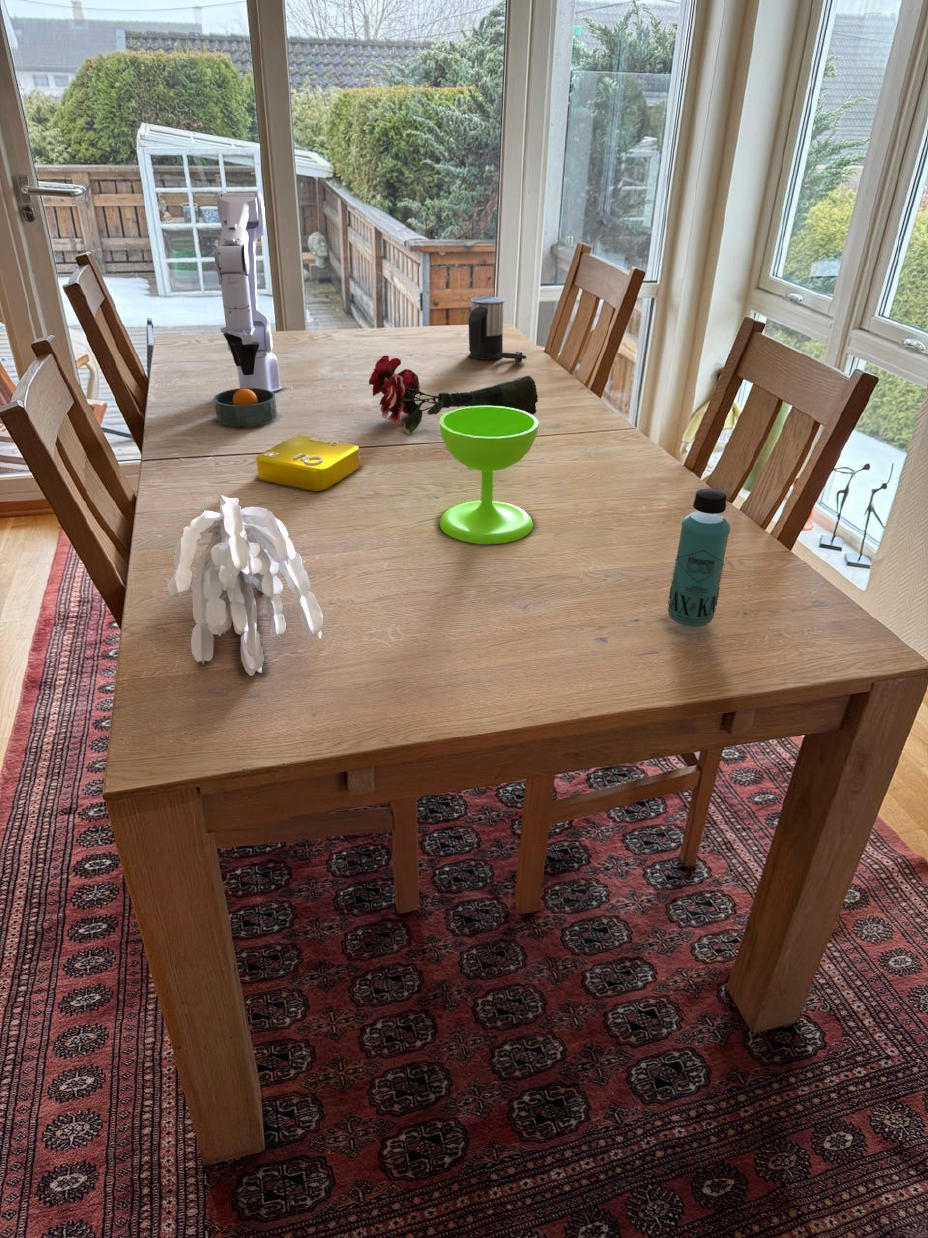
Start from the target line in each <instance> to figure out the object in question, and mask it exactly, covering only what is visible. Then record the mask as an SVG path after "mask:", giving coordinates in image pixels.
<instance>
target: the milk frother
mask: <svg viewBox="0 0 928 1238" xmlns="http://www.w3.org/2000/svg"><path fill="white" fill-rule="evenodd" d="M470 301H471V311H470V314H469V317H468V350H469V351H468V352H470V353H469V356H470V357H471V358H474V359H478V360H487V361H488V360H498V359H513V360H514V362H515V363H522V362H523V360H526V359H527V355H524V354H523V352H522V351H516V352H515V353H514V352H504V315H505V314H504V313H505V311H504V310H505V302H506V299H505V298H503V297H499V296H491V295H483V296H480V295H479V296H475V297H471V298H470Z"/></svg>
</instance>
